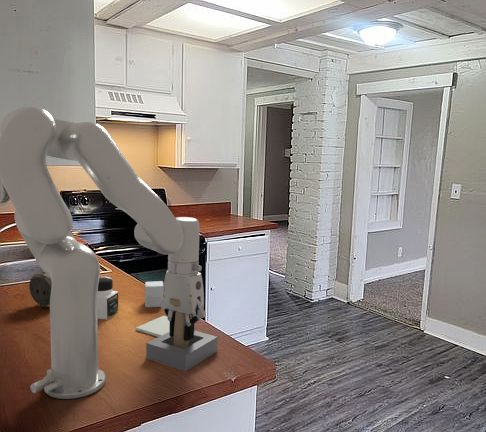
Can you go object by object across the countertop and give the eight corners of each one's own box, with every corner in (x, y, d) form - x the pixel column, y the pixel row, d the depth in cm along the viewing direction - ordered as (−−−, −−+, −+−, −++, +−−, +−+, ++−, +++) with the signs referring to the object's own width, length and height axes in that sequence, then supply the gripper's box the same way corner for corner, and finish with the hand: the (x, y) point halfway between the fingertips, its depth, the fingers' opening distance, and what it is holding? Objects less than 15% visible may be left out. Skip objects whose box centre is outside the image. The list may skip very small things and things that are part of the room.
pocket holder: (185, 371, 106) (185, 355, 105) (146, 358, 112) (146, 343, 111) (217, 351, 117) (217, 336, 117) (179, 340, 123) (180, 326, 123)
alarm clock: (64, 308, 146) (63, 259, 143) (51, 313, 141) (49, 263, 139) (40, 302, 150) (38, 255, 148) (26, 307, 145) (24, 258, 143)
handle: (165, 352, 115) (167, 296, 113) (189, 348, 118) (190, 293, 116) (172, 360, 111) (174, 302, 109) (196, 355, 114) (198, 298, 112)
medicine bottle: (107, 320, 136) (107, 282, 135) (86, 318, 138) (85, 280, 136) (118, 312, 143) (118, 276, 142) (98, 310, 145) (97, 274, 143)
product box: (163, 307, 150) (163, 286, 149) (144, 308, 148) (144, 286, 147) (162, 301, 156) (163, 280, 155) (145, 302, 154) (145, 281, 153)
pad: (168, 339, 123) (168, 337, 123) (135, 330, 129) (135, 327, 129) (194, 326, 134) (194, 323, 134) (163, 318, 140) (163, 315, 140)
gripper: (219, 269, 110) (217, 340, 113) (167, 259, 119) (165, 325, 121) (201, 275, 104) (199, 350, 106) (147, 264, 112) (146, 334, 115)
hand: (181, 336), depth 114 cm, fingers closed on handle, 4 cm apart
